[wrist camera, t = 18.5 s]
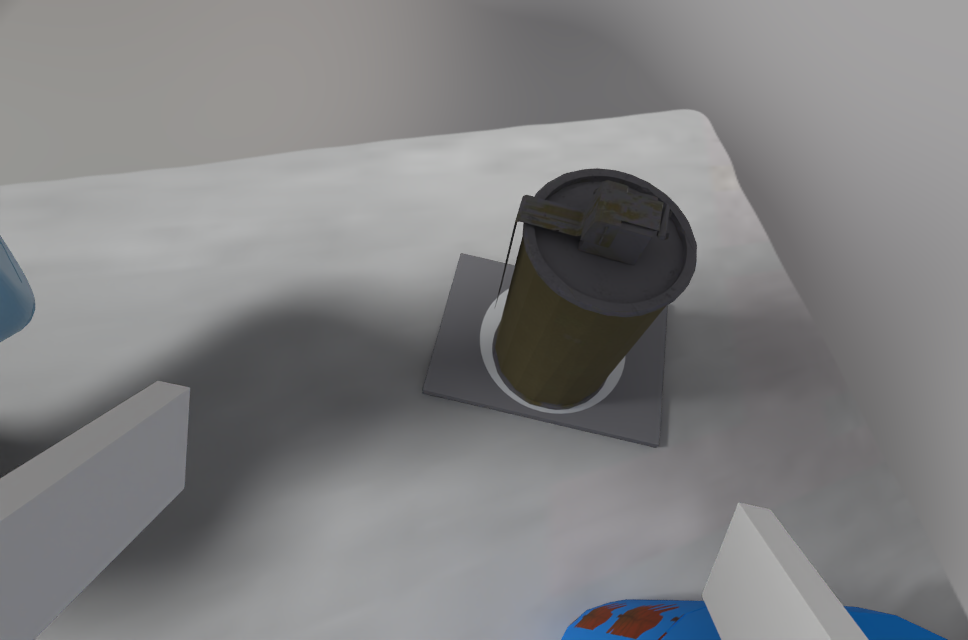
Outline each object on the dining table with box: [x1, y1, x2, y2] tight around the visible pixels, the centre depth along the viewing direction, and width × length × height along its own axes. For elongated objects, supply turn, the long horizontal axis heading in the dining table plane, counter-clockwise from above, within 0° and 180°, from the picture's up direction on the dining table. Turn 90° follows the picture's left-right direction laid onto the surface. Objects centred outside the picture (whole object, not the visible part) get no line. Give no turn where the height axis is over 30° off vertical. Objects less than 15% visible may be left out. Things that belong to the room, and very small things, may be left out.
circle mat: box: [422, 253, 668, 448], centre depth 48 cm, size 20×14×1 cm
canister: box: [492, 169, 697, 410], centre depth 38 cm, size 11×10×20 cm
